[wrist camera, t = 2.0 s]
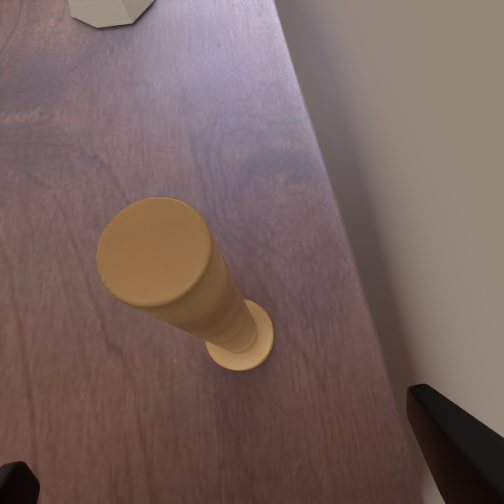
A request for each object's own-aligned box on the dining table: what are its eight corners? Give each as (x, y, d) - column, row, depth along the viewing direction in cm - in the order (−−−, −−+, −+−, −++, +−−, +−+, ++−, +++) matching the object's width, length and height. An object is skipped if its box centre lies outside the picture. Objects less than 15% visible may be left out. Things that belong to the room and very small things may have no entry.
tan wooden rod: (280, 363, 19) (279, 334, 5) (214, 376, 19) (46, 380, 5) (267, 298, 20) (239, 139, 7) (205, 310, 20) (48, 177, 7)
